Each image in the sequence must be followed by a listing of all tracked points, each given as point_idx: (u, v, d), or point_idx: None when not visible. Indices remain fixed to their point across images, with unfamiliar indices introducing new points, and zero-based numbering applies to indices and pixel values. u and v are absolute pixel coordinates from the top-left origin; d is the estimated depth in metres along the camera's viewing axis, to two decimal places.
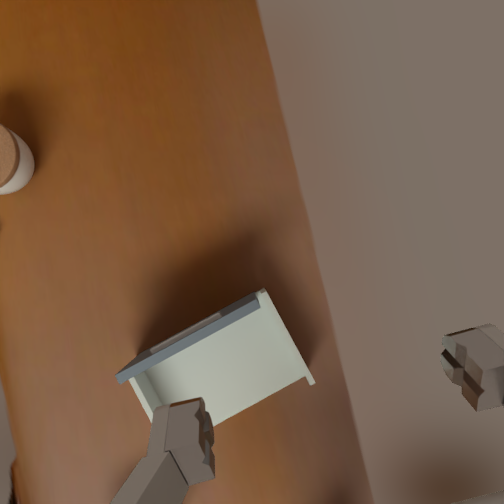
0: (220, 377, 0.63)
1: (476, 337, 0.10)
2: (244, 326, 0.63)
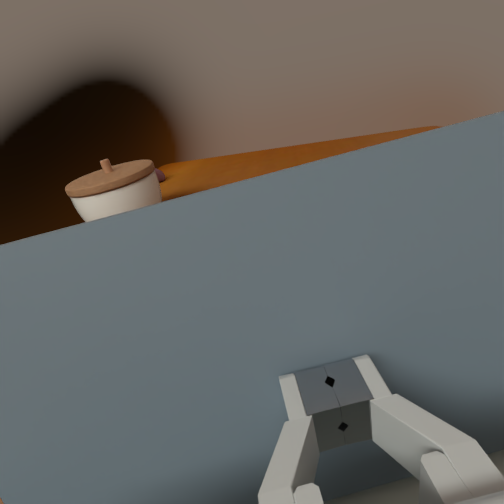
0: None
1: (348, 369, 0.10)
2: None
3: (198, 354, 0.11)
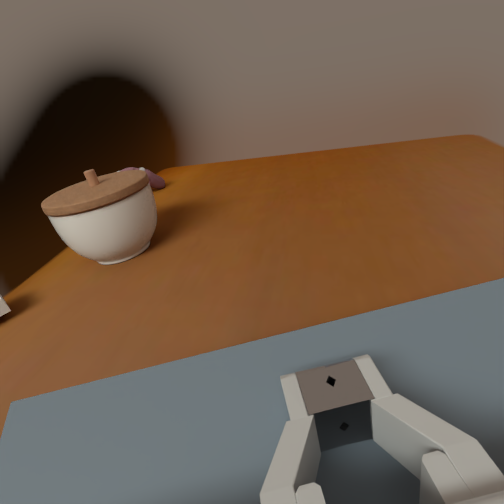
0: None
1: (348, 369, 0.10)
2: None
3: None
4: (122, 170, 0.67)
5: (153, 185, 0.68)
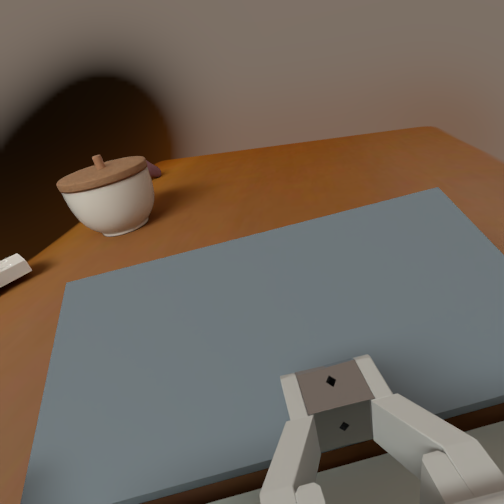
0: None
1: (348, 369, 0.10)
2: None
3: (197, 317, 0.18)
4: None
5: (150, 174, 0.75)
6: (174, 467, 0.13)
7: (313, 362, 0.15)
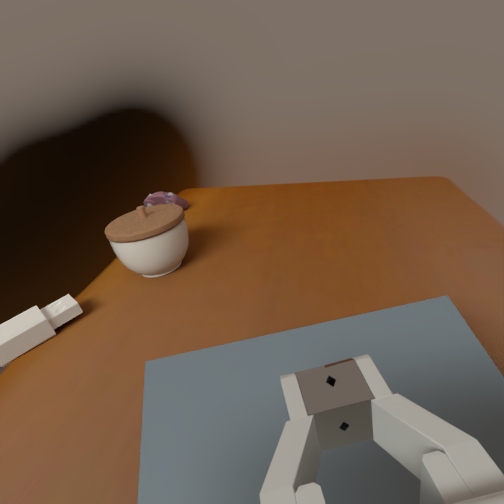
0: None
1: (349, 369, 0.10)
2: None
3: (254, 404, 0.23)
4: (154, 194, 0.81)
5: None
6: None
7: (347, 453, 0.20)
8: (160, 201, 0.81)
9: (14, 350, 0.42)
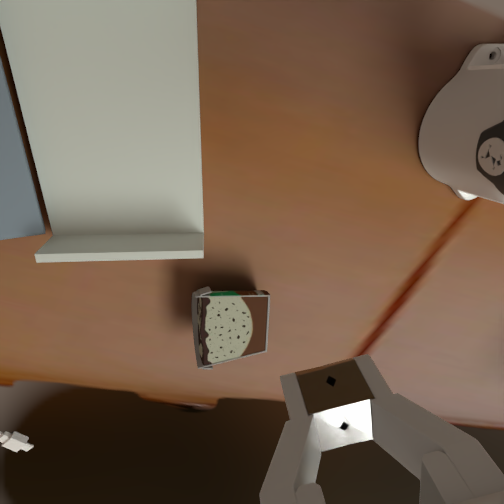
0: (133, 134, 0.37)
1: (349, 369, 0.10)
2: (54, 40, 0.32)
3: None
4: None
5: None
6: (24, 180, 0.36)
7: None
8: None
9: None
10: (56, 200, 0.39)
